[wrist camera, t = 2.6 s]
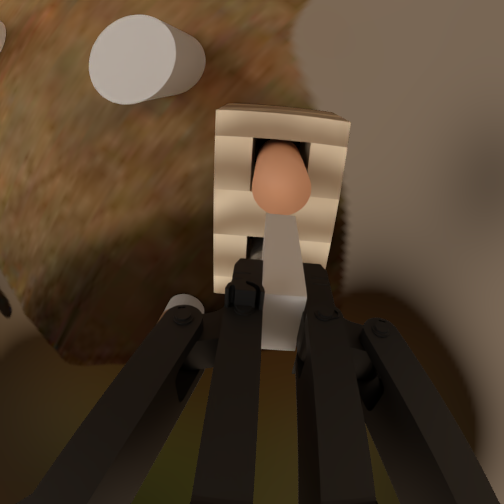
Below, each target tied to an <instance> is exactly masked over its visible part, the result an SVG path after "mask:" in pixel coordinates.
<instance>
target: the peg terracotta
mask: <svg viewBox="0 0 504 504" xmlns="http://www.w3.org/2000/svg"><path fill="white" fill-rule="evenodd" d="M252 194H253V197H254V199H255V201H256V203H257V204H258V205H259V207H260V208H262V209H263V210H264V211H266V212H268V213H270V214H280V215H291V214H293V213H296V212H297V211H299V210H300V209H302V208H303V207H304V206H305V205H306V203H307V202H308V200H309V197H310V194H311V182H310V178H309V176H308V173H307V170H306V168H305V165H304V163H303V160H302V157H301V155H300V152H299V150H298V148H297V147H296V146H295V145H294V144H293V143H292V142H290V141H289V140H279V139H271V140H269V141H267V142H265V143H264V144H263V145H262V146H261V148H260V149H259V151H258V154H257V160H256V165H255V171H254V177H253V182H252Z"/></svg>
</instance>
